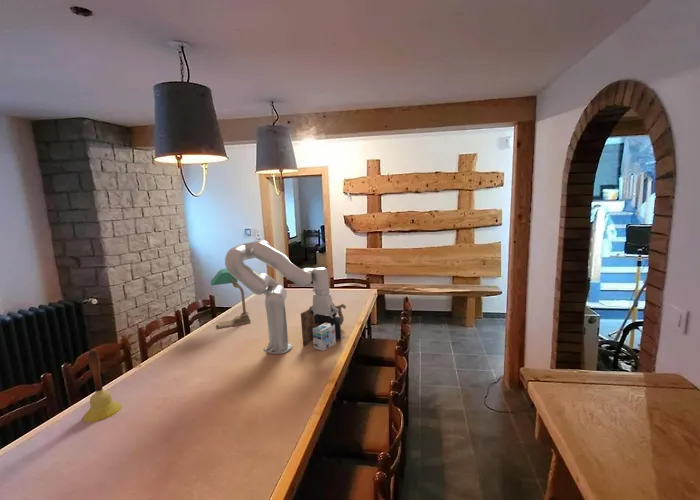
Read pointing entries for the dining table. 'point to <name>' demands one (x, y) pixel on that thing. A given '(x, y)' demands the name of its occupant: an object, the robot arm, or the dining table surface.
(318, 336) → the light bulb box
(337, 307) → the tankard
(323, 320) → the bookend
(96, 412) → the handbell
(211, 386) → the dining table surface
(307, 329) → the walnut wall
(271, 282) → the robot arm
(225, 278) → the banker's lamp
